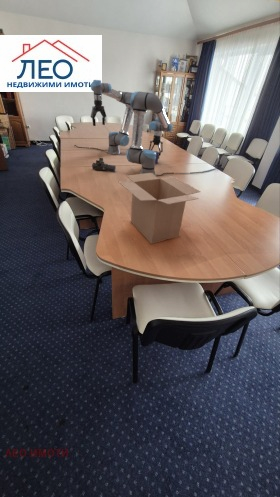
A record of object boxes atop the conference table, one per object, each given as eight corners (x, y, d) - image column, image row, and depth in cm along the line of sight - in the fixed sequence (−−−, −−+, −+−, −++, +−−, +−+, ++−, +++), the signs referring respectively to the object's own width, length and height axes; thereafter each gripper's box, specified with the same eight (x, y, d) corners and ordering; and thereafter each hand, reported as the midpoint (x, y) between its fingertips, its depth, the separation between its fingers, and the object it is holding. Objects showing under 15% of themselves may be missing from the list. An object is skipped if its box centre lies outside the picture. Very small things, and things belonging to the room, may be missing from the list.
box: (200, 241, 124) (213, 195, 108) (145, 257, 109) (150, 207, 93) (159, 208, 154) (164, 169, 138) (112, 217, 139) (111, 174, 123)
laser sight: (113, 173, 208) (113, 162, 203) (90, 170, 211) (89, 159, 205) (116, 170, 216) (116, 159, 210) (94, 167, 219) (93, 157, 213)
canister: (150, 163, 244) (151, 152, 237) (152, 161, 249) (153, 150, 242) (156, 164, 242) (157, 153, 235) (158, 162, 247) (159, 151, 240)
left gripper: (91, 100, 201) (93, 126, 213) (109, 100, 218) (110, 124, 230) (85, 99, 204) (87, 125, 216) (103, 99, 221) (104, 123, 233)
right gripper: (167, 135, 231) (164, 158, 244) (148, 133, 233) (146, 156, 247) (166, 136, 225) (163, 160, 238) (147, 134, 227) (145, 158, 241)
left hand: (99, 125), depth 223 cm, fingers open, 13 cm apart
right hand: (155, 158), depth 243 cm, fingers open, 7 cm apart
